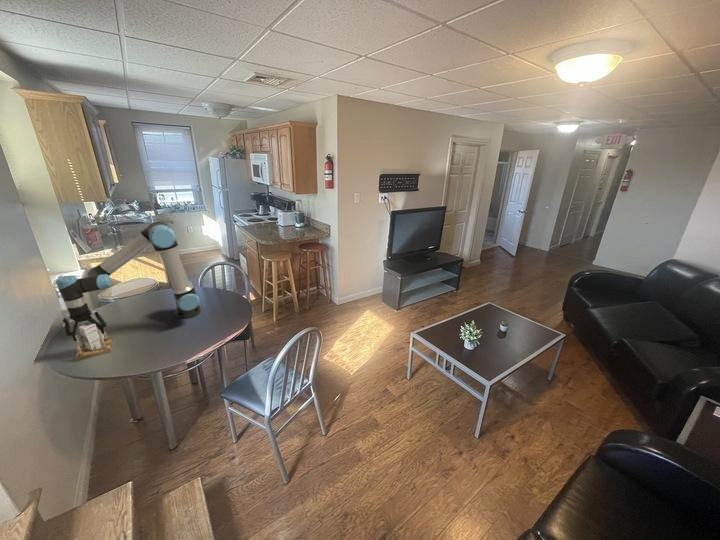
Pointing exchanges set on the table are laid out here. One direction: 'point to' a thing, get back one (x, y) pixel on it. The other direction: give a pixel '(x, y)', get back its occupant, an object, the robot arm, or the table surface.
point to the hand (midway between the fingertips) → (92, 341)
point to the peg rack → (85, 353)
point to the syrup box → (90, 336)
